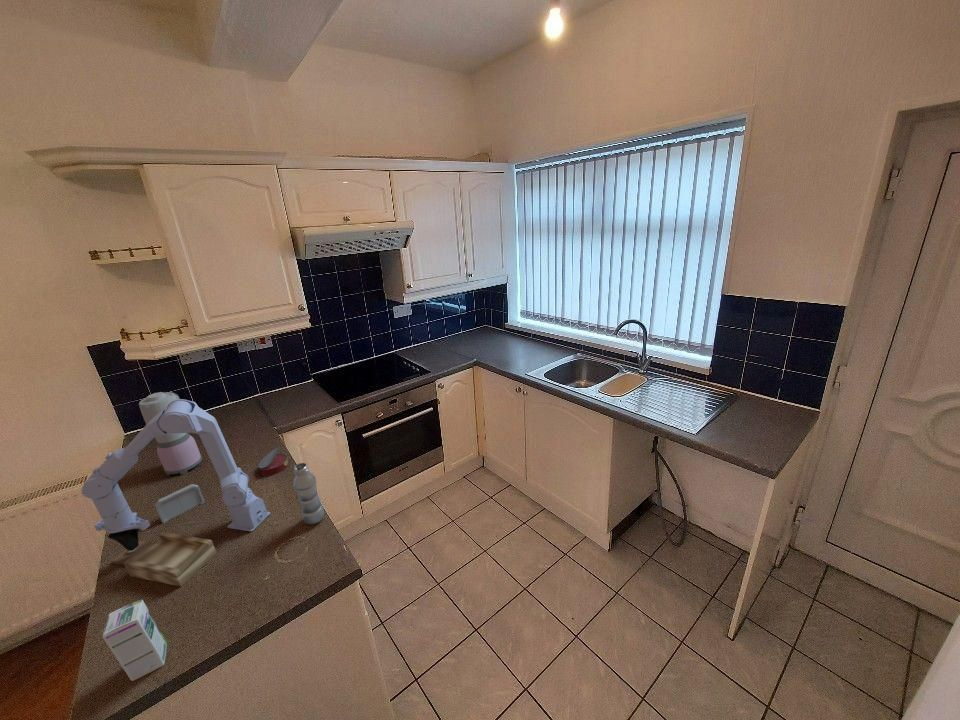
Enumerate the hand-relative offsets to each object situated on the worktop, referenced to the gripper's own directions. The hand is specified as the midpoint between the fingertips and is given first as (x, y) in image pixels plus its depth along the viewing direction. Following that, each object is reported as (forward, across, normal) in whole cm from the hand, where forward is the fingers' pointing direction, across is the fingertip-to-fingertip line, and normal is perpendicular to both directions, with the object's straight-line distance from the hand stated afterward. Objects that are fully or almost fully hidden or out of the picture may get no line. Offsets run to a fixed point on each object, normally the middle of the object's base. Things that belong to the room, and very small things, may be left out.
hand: (133, 547), depth 111 cm
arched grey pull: (+4, +1, -18) cm, 19 cm away
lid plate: (+4, +1, -1) cm, 4 cm away
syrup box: (+4, -29, +27) cm, 40 cm away
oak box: (+4, -13, +2) cm, 14 cm away
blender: (+4, +22, -45) cm, 50 cm away
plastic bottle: (+4, -47, -14) cm, 49 cm away
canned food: (+4, -17, -42) cm, 45 cm away
